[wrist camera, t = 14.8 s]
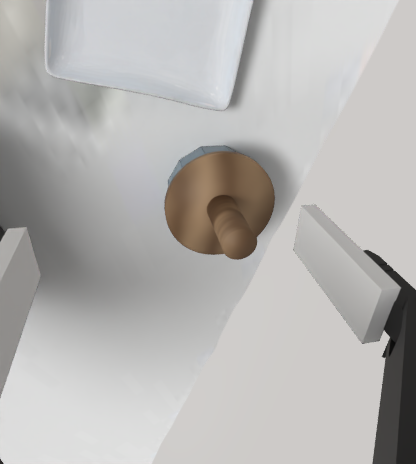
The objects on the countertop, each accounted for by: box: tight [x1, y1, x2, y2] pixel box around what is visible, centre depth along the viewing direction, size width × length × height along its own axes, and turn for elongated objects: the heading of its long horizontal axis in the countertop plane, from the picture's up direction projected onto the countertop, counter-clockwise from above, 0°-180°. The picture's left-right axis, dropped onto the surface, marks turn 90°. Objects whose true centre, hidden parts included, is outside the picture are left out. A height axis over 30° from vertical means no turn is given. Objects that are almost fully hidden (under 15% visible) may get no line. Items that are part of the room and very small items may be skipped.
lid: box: [165, 151, 275, 259], centre depth 43 cm, size 15×15×10 cm
